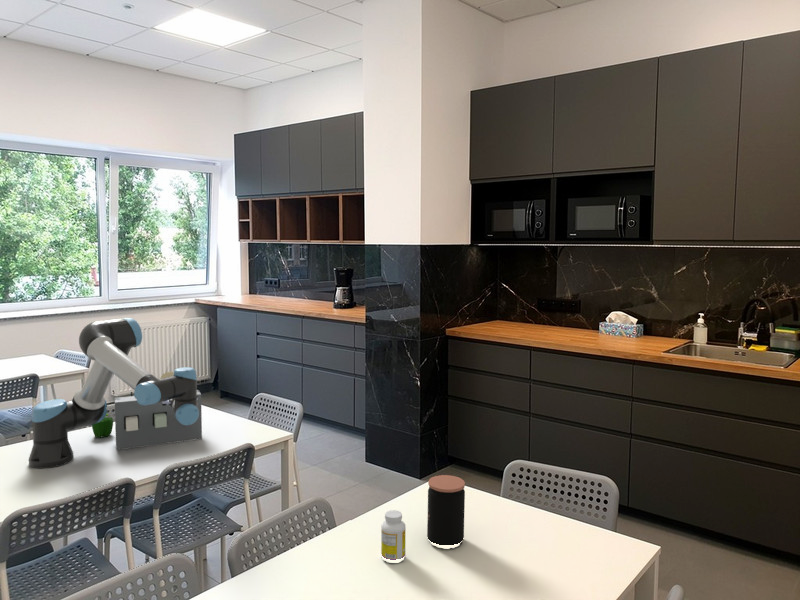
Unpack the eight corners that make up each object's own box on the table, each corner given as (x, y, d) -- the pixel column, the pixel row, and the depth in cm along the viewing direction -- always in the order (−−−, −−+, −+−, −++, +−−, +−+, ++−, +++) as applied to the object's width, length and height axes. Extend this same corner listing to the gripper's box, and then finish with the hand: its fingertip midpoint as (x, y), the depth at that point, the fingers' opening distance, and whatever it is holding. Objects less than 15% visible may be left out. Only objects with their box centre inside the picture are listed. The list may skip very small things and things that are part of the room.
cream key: (126, 431, 243) (126, 420, 243) (125, 426, 249) (125, 416, 249) (138, 429, 245) (137, 419, 245) (137, 425, 251) (136, 415, 251)
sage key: (155, 427, 248) (155, 417, 248) (154, 423, 254) (153, 413, 254) (166, 426, 250) (166, 416, 250) (165, 422, 256) (164, 412, 256)
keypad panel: (116, 449, 247) (114, 402, 245) (115, 443, 254) (114, 397, 252) (201, 438, 262) (201, 394, 260) (199, 433, 269) (198, 390, 267)
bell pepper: (87, 437, 262) (86, 415, 261) (102, 432, 269) (101, 410, 268) (102, 439, 259) (102, 417, 258) (117, 434, 267) (116, 412, 266)
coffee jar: (441, 529, 182) (442, 472, 180) (470, 540, 175) (472, 481, 173) (419, 542, 174) (420, 482, 172) (450, 554, 167) (451, 492, 165)
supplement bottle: (398, 550, 169) (398, 506, 168) (409, 561, 163) (410, 516, 162) (377, 555, 166) (377, 511, 165) (387, 567, 160) (388, 521, 159)
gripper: (162, 417, 218) (157, 401, 239) (202, 412, 224) (193, 398, 245) (162, 397, 217) (156, 383, 238) (202, 393, 223) (193, 380, 244)
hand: (175, 390), depth 241 cm, fingers closed
